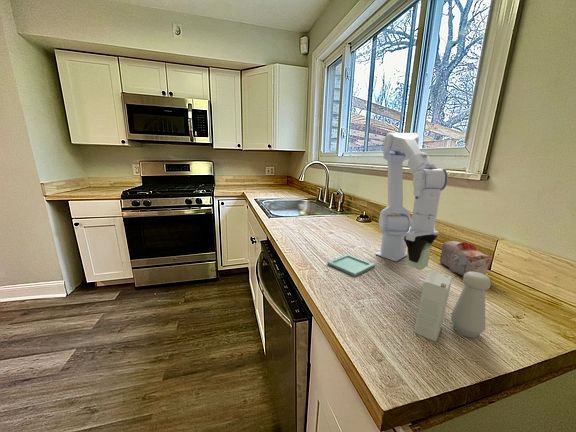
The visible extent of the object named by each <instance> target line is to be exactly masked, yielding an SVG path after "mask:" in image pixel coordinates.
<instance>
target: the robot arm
mask: <svg viewBox="0 0 576 432" xmlns="http://www.w3.org/2000/svg"><path fill="white" fill-rule="evenodd" d="M419 137H420V136H419V135H418V133H417V132H404V133H403V132H387V134H386V135H385V137H384V141H383V144H382V147H383V149H382V152H383V159H384V160H385V161H387V206H386V207H385V208H383V209H381V211H380V212H379V218H378V228H379V230H380V231H381V232H382V235H381V236H382V237H381V245H380V251H377V252H375V255H376V256H379V257H381V258H385V259H388V260H390V261H393V262H397V261H399V260H401V259H403V258H405V257H407V252H406V250H408V255H409V260H410V261H412V262H416V263H417V262H418V261H419V258H420V255H421V252H422V250H423V248H424V246H425V244H426V243H430V244H433V242H434V241H435V240H436V239H437V237H438V235H439V231H438V230H436V228H437V227H436V222H437V221H436V220H437V215H438V209H439V203H440V198H441V193H442V191H443V190H445V189H446V187H447V185H448V182H449V175H448V174H449V173H448V172H447V169H446V168H445V167H444V168H442V167H437V166H436V164H435V163H434V161H433V160H432V159H431V157H430V156H429V154H428V153H427V152H421V149H420V147H419ZM407 160H408V161H407ZM405 161H407V167H408V168H409V170H410V172H411V174H412V175H413V180H412V185H413V196H414V202H413V208H412V215H411V212H410V210H408V209H407V208H406V207H404V205H403V204H404V203H403V201H404V199H403V197H404V196H403V192H404V191H403V185H404V184H403V181H404V180H403V179H404V178H403V176H404V175H403V174H404V173H403V171H404V170H403V166H404V165H403V164H404V162H405Z"/></svg>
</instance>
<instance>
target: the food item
mask: <svg viewBox="0 0 576 432" xmlns="http://www.w3.org/2000/svg"><path fill="white" fill-rule="evenodd" d="M477 248H478V247H477V246H476V245H475V244H474V243H469V242H467V241H465V242H460V241H455V240H451V241H450V240H447V241H444V242H443V243H442V247H441V254H440V258H439V263H440V264H442V265H444V266H446V267H447V268H449V271H450V272H452V273H456V274H458V275H460V276H461V277H462V278H463V277H464V274H465V273H467V272H478V273H482V274H484V275H486V273H487V272H488V269H489V266H490V262H491V259H492V256H490V255H487V254H485V253H483V252H481V251H479V250H477Z"/></svg>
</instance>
